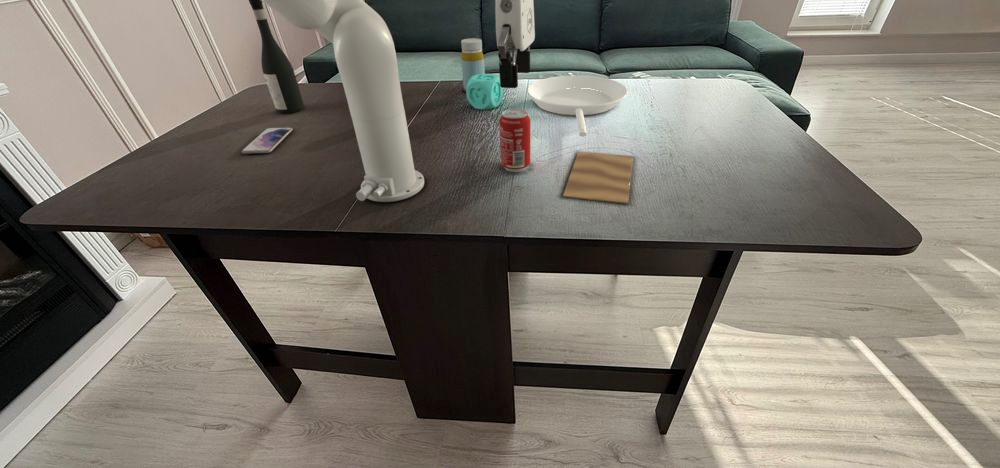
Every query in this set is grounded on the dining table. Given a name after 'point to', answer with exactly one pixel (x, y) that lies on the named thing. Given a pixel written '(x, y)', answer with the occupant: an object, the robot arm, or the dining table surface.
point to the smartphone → (267, 140)
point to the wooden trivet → (600, 177)
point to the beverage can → (515, 140)
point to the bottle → (471, 59)
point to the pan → (577, 96)
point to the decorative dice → (484, 91)
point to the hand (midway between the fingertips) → (515, 79)
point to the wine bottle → (277, 67)
